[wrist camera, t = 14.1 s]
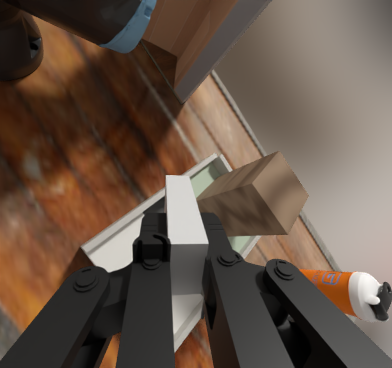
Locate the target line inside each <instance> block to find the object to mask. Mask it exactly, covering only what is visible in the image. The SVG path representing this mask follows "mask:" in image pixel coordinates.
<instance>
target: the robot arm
mask: <svg viewBox="0 0 392 368" xmlns="http://www.w3.org/2000/svg"><path fill="white" fill-rule="evenodd" d="M156 2H157V0H0V81H4V80H13V79H18V78H21V77H24V76H26V75H28V74H30V73H32V72H33V71H35V70H36V69H37V68H38V66H39V65H40V63H41V61H42V59H43V43H42V37H41V33H40V31H39V28H38V26H37V24H36V23H35V21H34V19H33V17H32V15H33V16H36V17H38V18H40V19H42V20H44V21H46V22H49V23H51V24H53V25H55V26H57V27H60V28H62V29H64V30H66V31H68V32H70V33H73V34H75V35H77V36H79V37H81V38H84V39H86V40H88V41H90V42H92V43H94V44H96V45H98V46H100V47H106V48H108V49H111V50H114V51H117V52H119V53H128V52H130V51H132V50H133V49H134V48H135V47H136V46H137V44H138V43H139V41H140V40H141V38H142V36H143V34H144V32H145V30H146V28H147V26H148V24H149V21H150V15H151V13H152V11H153V10H154V7H155V5H156ZM132 251H133V261H132V262H131V263H130V264H129V265H127V266H125V267H124V268H121V269H119V270H115V271H112V272H107V271H106V270H105V269H104V268H102V267H99V266H88V267H84V268H81V269H79V270H77V271H75V272H74V273H72V274H71V275H70V276H69V277H68V278H67V279H66V280H65V281H64V283H63V284H62V285H61V286H60V288H59V289H58V290H57V291H56V293H55V294H54V295H53V296H52V298H51V299H50V300H49V301H48V302H47V304H46V305H45V306H44V307H43V309H42V310H41V311H40V312H39V314H38V315H37V316H36V317H35V319H34V320H33V321H32V322H31V324H30V325H29V326H28V327H27V328H26V330H25V331H24V332H23V333H22V335H21V336H20V337H19V338H18V340H17V341H16V342H15V343H14V345H13V346H12V347H11V348H10V350H9V351H8V352H7V353H6V355H5V356H4V357H3V358H2V359H1V361H0V368H99V367H100V364H101V362H102V360H103V357H104V355H105V353H106V350H107V348H108V346H109V343H110V341H111V339H112V336H113V335H114V334H116V333H119V332H121V331H122V332H121V338H120V344H119V350H118V356H117V362H116V368H175V355H174V333H173V312H172V296H173V295H190V294H201V289H202V287H203V293H204V299H203V304H202V310H201V319H203V318H204V315H205V321H206V326H207V332H208V337H209V343H210V348H211V354H212V360H213V365H214V368H392V360H391V358H389V357H388V356H387V355H386V354H385V353H384V352H383V351H382V350H381V349H380V348H379V347H378V346H377V345H376V344H375V343H374V342H373V341H372V340H371V339H370V338H369V337H368V336H367V335H366V334H365V333H364V332H363V331H362V330H360V328H359V327H357V326H356V325H355V324H354V323H353V322H352V321H351V320H350V319H349V318H348V317H347V316H346V315H345V314H344V313H343V312H342V311H341V310H340V309H339V308H338V307H337V306H336V305H335V304H334V303H333V302H332V301H331V300H330V299H329V298H328V297H327V296H326V295H325V294H323V293H322V292H321V291H320V290H319V289H318V288H317V287H316V286H315V285H314V284H313V283H312V282H311V281H310V280H309V279H308V278H307V277H306V276H305V275H304V274H303V273H302V272H301V271H300V270H299V269H298V268H296V267H295V266H294V265H293V264H291V263H289V262H287V261H285V260H281V259H272V260H270V261H268V262H267V264H266V267H264V266H259V265H255V264H251V263H248V262H246V261H244V259H243V257H242V256H241V255H240V254H239V253H238V252H236V251H235V250H233V249H232V247H231V244H230V242H229V240H228V237H227V235H226V233H225V231H224V228H223V226H222V223H221V221H220V219H219V217H218V216H216V215H215V214H214V213H207V212H199V209H198V205H197V202H196V198H195V195H194V192H193V188H192V185H191V181H190V178H189V176H174V175H166V186H165V208H164V213H146V214H145V216H144V217H143V218H142V222H141V228H140V234H139V237H137V238H136V239H135V240H134V242H133V244H132Z"/></svg>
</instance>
